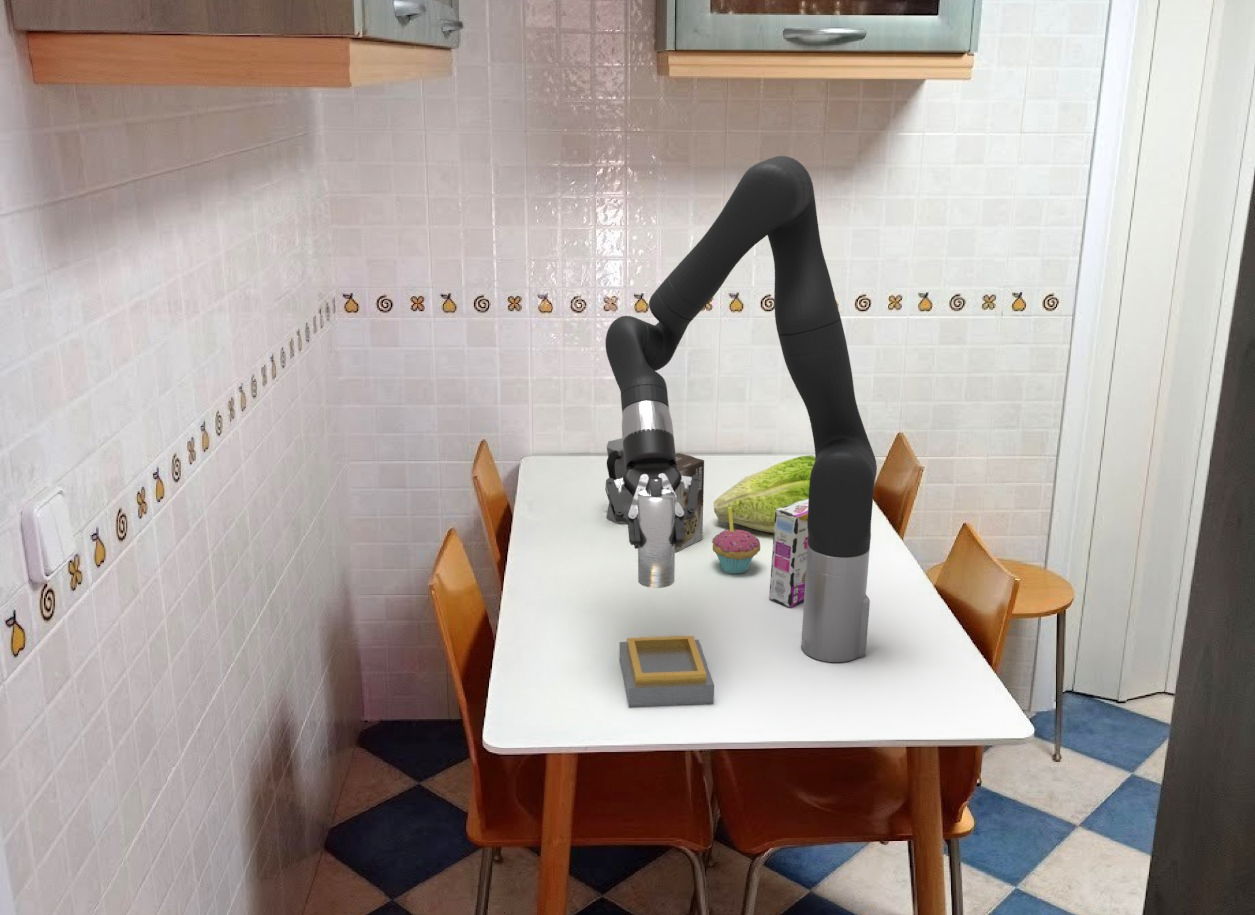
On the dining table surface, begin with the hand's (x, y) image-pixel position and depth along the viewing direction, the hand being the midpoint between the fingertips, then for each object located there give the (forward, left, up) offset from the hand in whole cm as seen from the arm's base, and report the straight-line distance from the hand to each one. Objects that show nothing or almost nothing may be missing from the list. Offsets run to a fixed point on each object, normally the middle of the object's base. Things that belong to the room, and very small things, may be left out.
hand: (658, 545), depth 169 cm
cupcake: (-19, -40, -22) cm, 50 cm away
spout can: (0, -2, -6) cm, 6 cm away
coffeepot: (-2, -66, -22) cm, 70 cm away
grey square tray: (-1, 0, -22) cm, 22 cm away
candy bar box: (-28, -28, -22) cm, 46 cm away
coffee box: (-10, -53, -22) cm, 59 cm away
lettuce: (-31, -60, -22) cm, 71 cm away
